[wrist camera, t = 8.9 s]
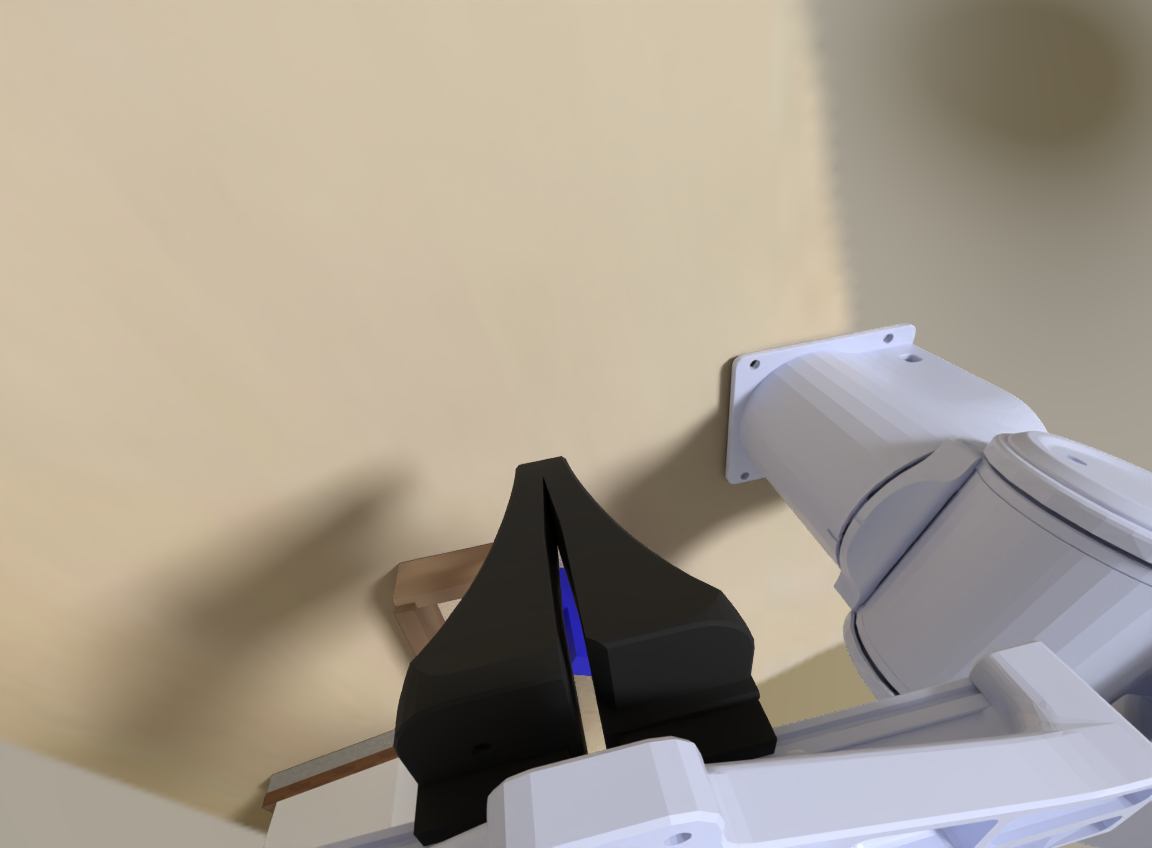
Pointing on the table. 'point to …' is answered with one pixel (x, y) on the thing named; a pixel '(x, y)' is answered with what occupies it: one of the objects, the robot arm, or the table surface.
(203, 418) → the table surface
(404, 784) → the display case
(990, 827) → the robot arm
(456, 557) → the frame
